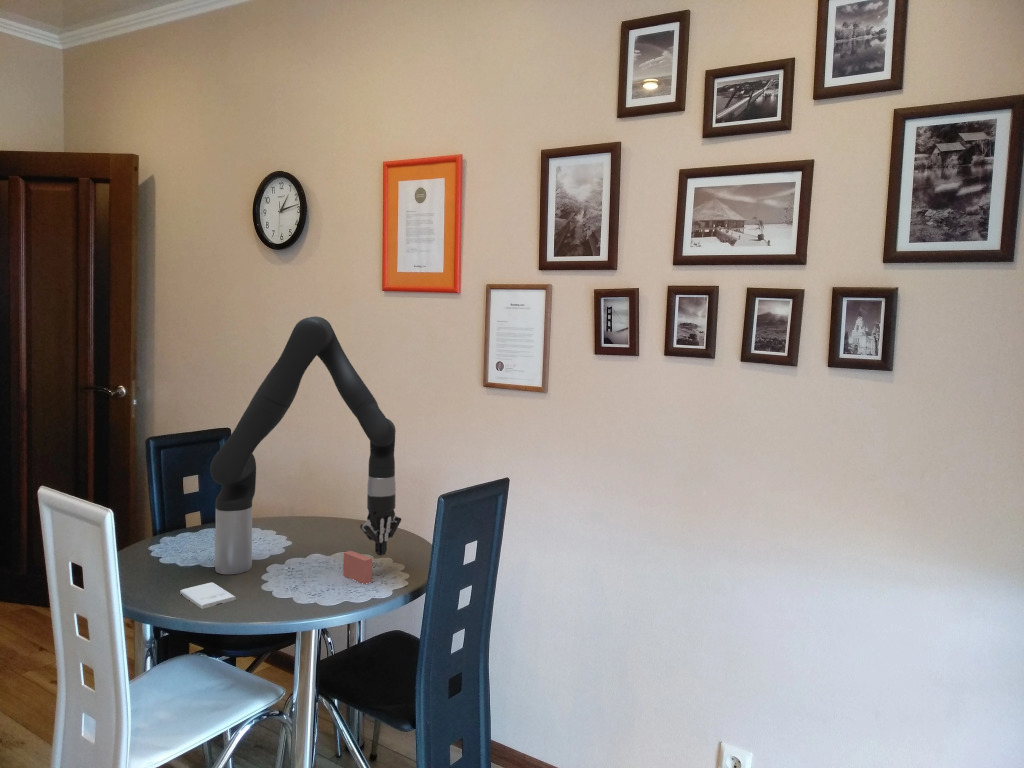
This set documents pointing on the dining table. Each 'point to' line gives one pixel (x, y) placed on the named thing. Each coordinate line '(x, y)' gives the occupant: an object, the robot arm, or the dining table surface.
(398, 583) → the dining table surface
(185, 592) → the external hard drive
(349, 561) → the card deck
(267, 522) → the dining table surface
